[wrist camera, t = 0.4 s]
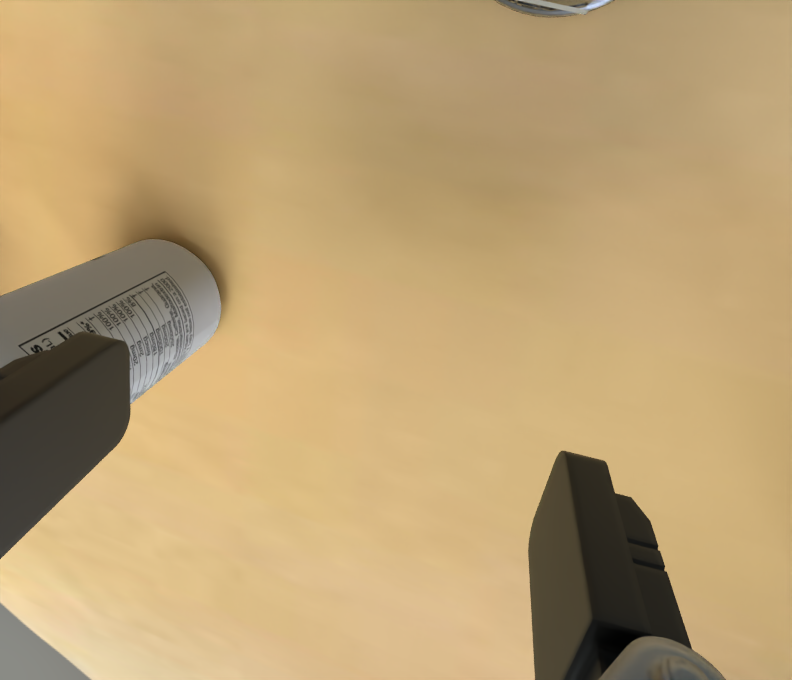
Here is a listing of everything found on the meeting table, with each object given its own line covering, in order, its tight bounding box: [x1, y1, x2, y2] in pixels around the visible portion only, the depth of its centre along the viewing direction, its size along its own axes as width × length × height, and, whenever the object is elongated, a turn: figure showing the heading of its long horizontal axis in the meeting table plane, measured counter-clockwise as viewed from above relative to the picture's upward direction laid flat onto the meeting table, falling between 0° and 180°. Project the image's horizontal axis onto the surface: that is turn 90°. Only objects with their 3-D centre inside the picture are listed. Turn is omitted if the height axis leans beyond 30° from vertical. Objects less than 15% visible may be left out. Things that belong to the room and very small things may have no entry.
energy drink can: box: [0, 239, 221, 404], centre depth 24 cm, size 6×6×15 cm
